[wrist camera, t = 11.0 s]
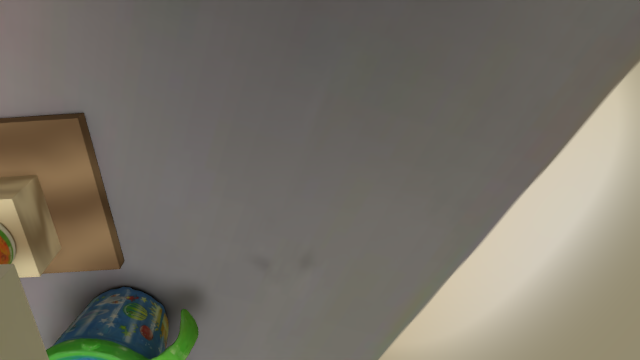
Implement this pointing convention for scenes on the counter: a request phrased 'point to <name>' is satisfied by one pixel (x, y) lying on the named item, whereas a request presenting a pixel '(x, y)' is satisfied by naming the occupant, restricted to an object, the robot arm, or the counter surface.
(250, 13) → the counter surface
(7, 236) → the supplement bottle
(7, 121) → the board
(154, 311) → the snack cup
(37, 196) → the birch block
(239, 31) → the counter surface
